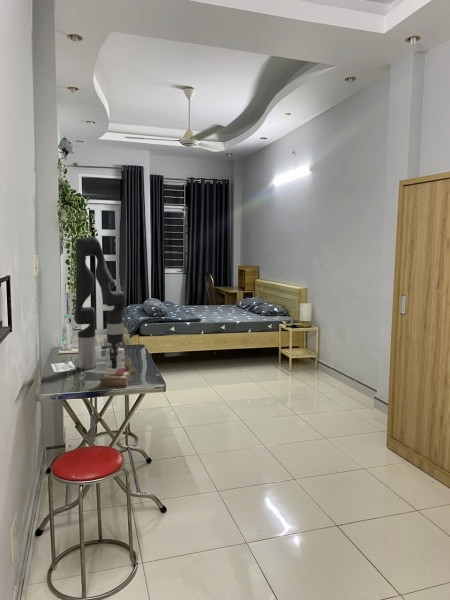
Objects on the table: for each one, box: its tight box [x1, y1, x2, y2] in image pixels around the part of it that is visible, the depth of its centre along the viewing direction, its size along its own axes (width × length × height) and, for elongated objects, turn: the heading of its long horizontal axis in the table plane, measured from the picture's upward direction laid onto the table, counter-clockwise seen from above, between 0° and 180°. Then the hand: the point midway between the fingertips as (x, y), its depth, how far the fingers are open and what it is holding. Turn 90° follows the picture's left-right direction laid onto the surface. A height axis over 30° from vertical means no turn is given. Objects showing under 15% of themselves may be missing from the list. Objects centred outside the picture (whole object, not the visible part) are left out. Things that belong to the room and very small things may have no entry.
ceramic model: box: [124, 354, 136, 375], centre depth 244 cm, size 14×11×10 cm
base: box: [99, 372, 132, 387], centre depth 225 cm, size 12×12×4 cm
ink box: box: [105, 347, 125, 374], centre depth 224 cm, size 9×5×12 cm, turn 102°
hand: (115, 366), depth 225 cm, fingers closed on ink box, 5 cm apart
